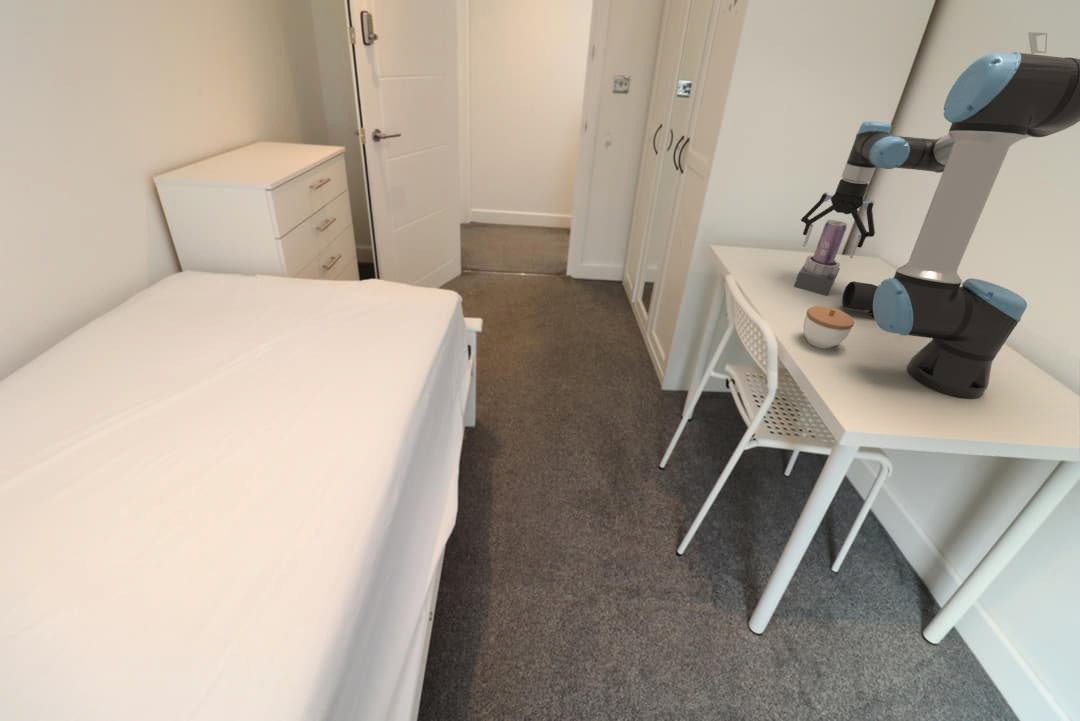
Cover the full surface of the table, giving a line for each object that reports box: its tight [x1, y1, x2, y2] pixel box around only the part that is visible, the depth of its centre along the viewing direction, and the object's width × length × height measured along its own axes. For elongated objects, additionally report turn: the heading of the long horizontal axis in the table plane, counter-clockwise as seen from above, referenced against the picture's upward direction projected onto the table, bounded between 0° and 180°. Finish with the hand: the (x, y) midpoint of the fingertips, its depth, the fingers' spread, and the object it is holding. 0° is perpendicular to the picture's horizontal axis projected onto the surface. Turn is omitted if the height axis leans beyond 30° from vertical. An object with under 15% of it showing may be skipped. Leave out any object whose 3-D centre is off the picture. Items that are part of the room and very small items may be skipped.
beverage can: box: [812, 219, 848, 266], centre depth 157 cm, size 6×6×15 cm
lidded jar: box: [802, 305, 855, 349], centre depth 127 cm, size 11×11×9 cm
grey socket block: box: [793, 254, 841, 297], centre depth 161 cm, size 14×10×8 cm
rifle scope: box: [841, 281, 879, 319], centre depth 143 cm, size 10×26×10 cm, turn 78°
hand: (827, 251), depth 157 cm, fingers open, 13 cm apart
